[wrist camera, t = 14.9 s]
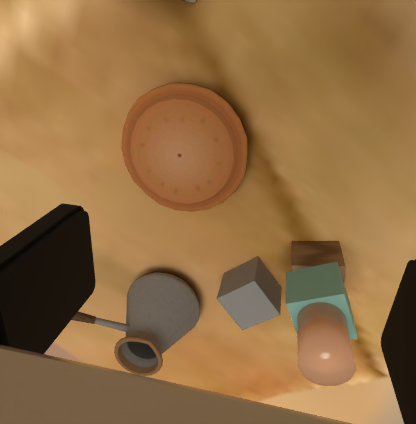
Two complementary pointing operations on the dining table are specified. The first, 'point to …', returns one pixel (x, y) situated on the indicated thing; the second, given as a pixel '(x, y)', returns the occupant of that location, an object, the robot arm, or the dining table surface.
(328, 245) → the block
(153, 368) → the coffee pot
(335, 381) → the pink rounded piece
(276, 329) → the dining table surface
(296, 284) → the tower top
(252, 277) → the block
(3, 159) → the dining table surface
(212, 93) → the pie
